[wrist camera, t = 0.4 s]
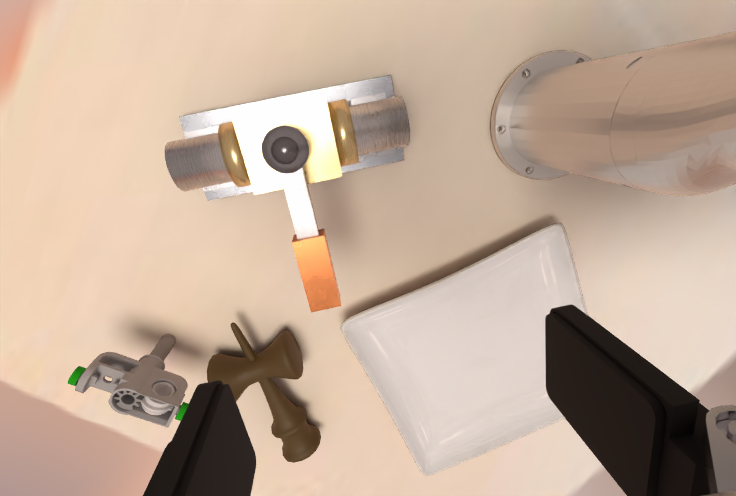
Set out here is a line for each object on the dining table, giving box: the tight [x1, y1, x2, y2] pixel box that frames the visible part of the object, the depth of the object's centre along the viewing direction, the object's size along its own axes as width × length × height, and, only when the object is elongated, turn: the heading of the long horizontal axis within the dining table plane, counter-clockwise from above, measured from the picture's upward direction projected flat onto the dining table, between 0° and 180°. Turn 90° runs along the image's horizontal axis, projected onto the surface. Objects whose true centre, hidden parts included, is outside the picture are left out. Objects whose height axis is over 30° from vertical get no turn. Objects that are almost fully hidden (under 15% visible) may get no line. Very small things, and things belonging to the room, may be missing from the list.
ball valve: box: [165, 75, 410, 201], centre depth 33 cm, size 20×8×11 cm, turn 101°
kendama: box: [207, 323, 321, 462], centre depth 45 cm, size 6×10×20 cm
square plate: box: [341, 223, 588, 476], centre depth 47 cm, size 27×27×4 cm
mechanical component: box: [68, 334, 189, 427], centre depth 39 cm, size 3×10×10 cm, turn 59°
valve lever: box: [261, 125, 341, 312], centre depth 28 cm, size 14×3×2 cm, turn 11°
